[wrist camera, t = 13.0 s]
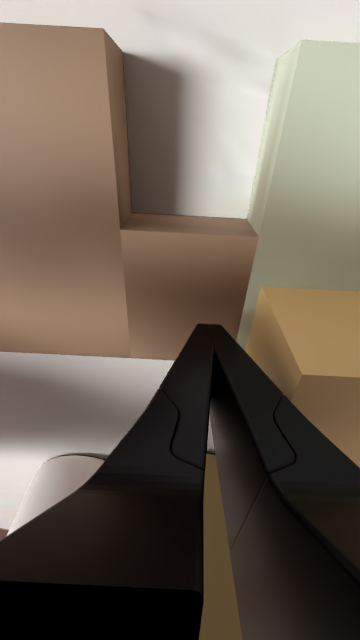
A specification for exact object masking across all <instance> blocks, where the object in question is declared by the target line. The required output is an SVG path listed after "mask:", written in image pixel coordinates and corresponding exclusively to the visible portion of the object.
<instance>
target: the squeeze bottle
mask: <svg viewBox="0 0 360 640" xmlns="http://www.w3.org/2000/svg"><path fill="white" fill-rule="evenodd" d="M199 640H242V633H241V626H240V620H239V613H238V606H237V599H236V592H235V585H234V579H233V572H232V565H231V558H230V550H229V544H228V537H227V530H226V523H225V517H224V510H223V503H222V496H221V489H220V482H219V476H218V469H217V462H216V455H212V454H206V467H205V481H204V604H203V612H202V619H201V627H200V635H199Z"/></svg>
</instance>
